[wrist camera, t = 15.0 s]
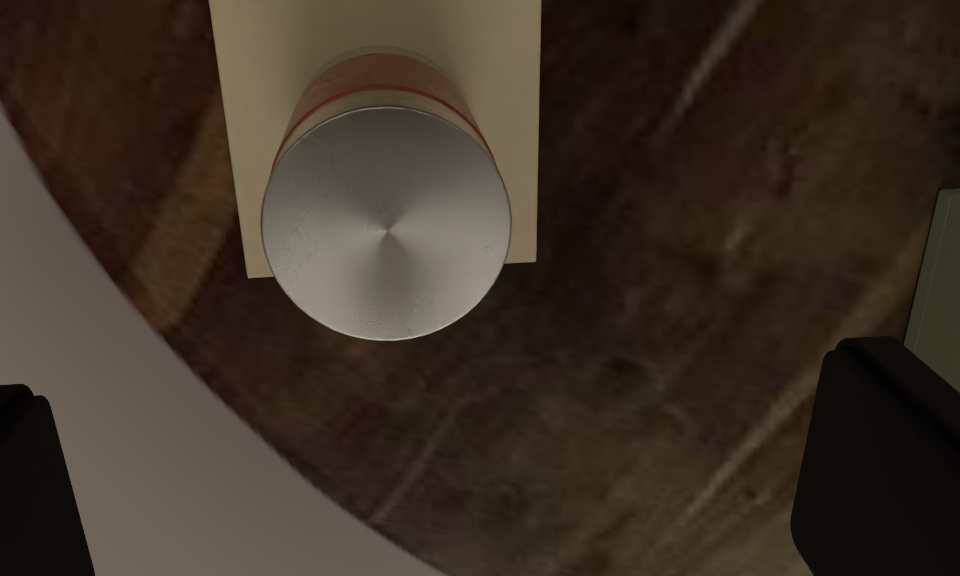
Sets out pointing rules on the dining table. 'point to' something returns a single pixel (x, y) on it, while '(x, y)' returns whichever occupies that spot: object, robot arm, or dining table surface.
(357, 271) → the can
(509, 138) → the mat
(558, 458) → the dining table surface
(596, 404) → the dining table surface
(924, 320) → the chest
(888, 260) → the dining table surface
